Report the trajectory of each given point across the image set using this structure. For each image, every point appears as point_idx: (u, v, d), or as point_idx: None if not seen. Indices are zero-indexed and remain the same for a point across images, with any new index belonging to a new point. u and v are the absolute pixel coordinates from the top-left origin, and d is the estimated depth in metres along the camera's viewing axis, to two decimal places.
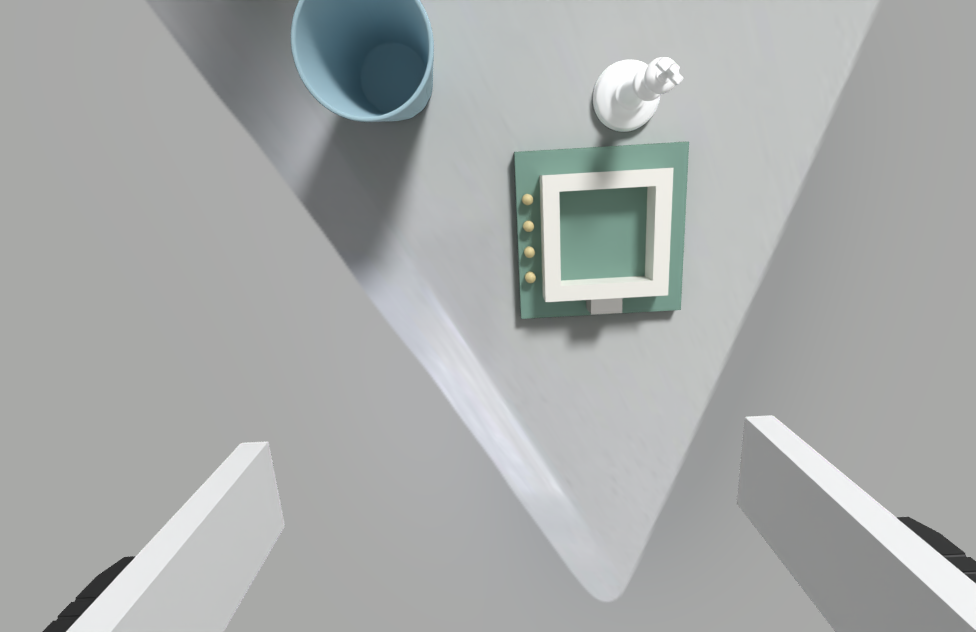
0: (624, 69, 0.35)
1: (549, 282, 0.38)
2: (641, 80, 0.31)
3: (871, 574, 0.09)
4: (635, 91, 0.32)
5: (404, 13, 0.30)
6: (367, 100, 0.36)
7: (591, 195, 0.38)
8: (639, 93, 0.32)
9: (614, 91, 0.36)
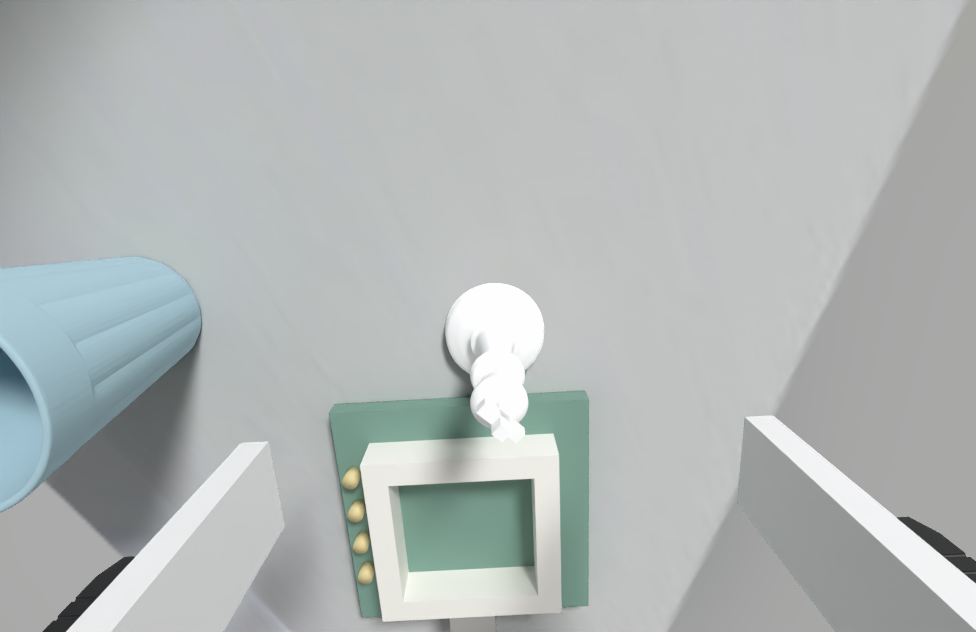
0: (484, 304, 0.23)
1: (385, 598, 0.26)
2: (482, 377, 0.19)
3: (871, 575, 0.09)
4: None
5: None
6: None
7: None
8: None
9: (470, 336, 0.23)
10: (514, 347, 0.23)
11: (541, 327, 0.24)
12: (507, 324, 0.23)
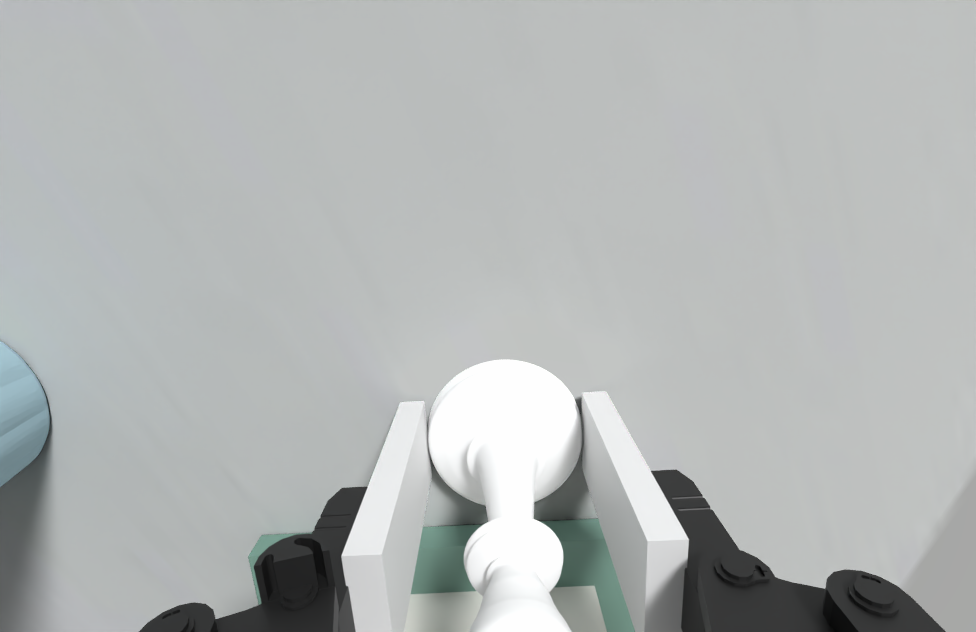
0: (489, 397, 0.14)
1: None
2: (485, 568, 0.10)
3: (620, 512, 0.11)
4: None
5: None
6: None
7: None
8: (483, 594, 0.10)
9: (467, 446, 0.15)
10: (537, 468, 0.14)
11: (579, 430, 0.15)
12: (526, 432, 0.14)
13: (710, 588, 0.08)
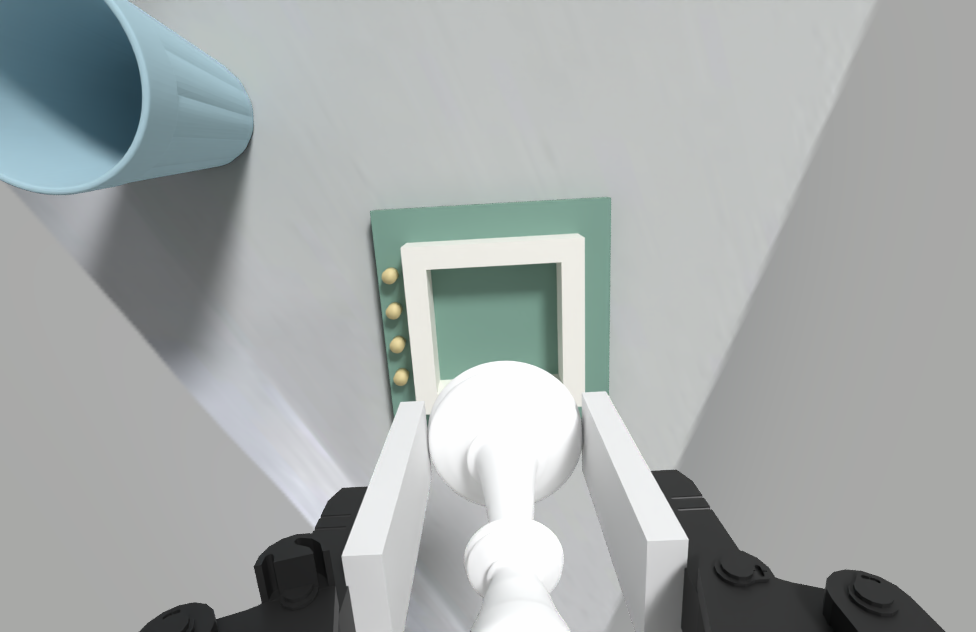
0: (489, 398, 0.14)
1: (420, 389, 0.27)
2: (485, 569, 0.10)
3: (620, 511, 0.11)
4: None
5: None
6: None
7: (479, 269, 0.28)
8: (483, 595, 0.10)
9: (467, 447, 0.15)
10: (537, 469, 0.14)
11: (579, 431, 0.15)
12: (526, 433, 0.14)
13: (710, 588, 0.08)
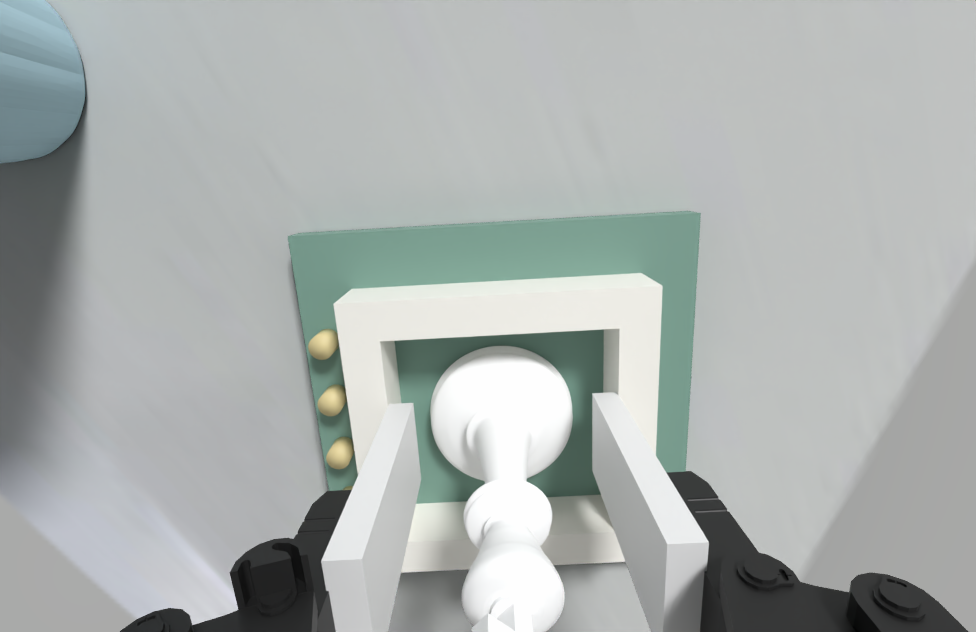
0: (486, 379, 0.16)
1: None
2: (482, 524, 0.12)
3: (636, 514, 0.11)
4: (471, 538, 0.12)
5: None
6: None
7: None
8: None
9: (466, 424, 0.16)
10: (531, 444, 0.16)
11: (569, 410, 0.16)
12: (521, 411, 0.15)
13: (733, 591, 0.08)
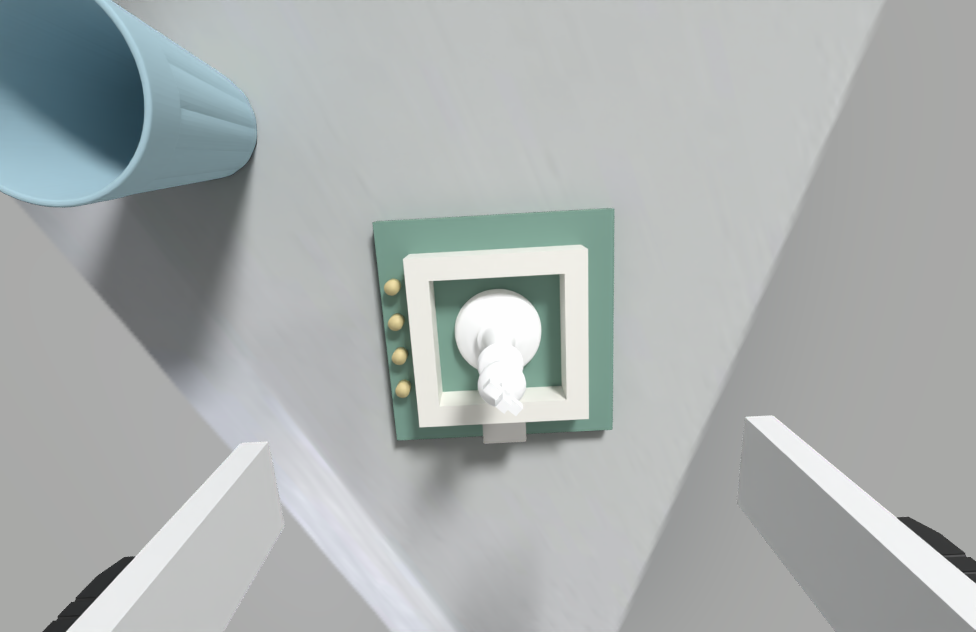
0: (489, 306, 0.27)
1: (423, 401, 0.27)
2: (487, 365, 0.22)
3: (871, 574, 0.09)
4: None
5: None
6: None
7: (482, 280, 0.27)
8: None
9: (477, 334, 0.27)
10: (515, 344, 0.26)
11: (538, 327, 0.27)
12: (509, 324, 0.26)
13: None
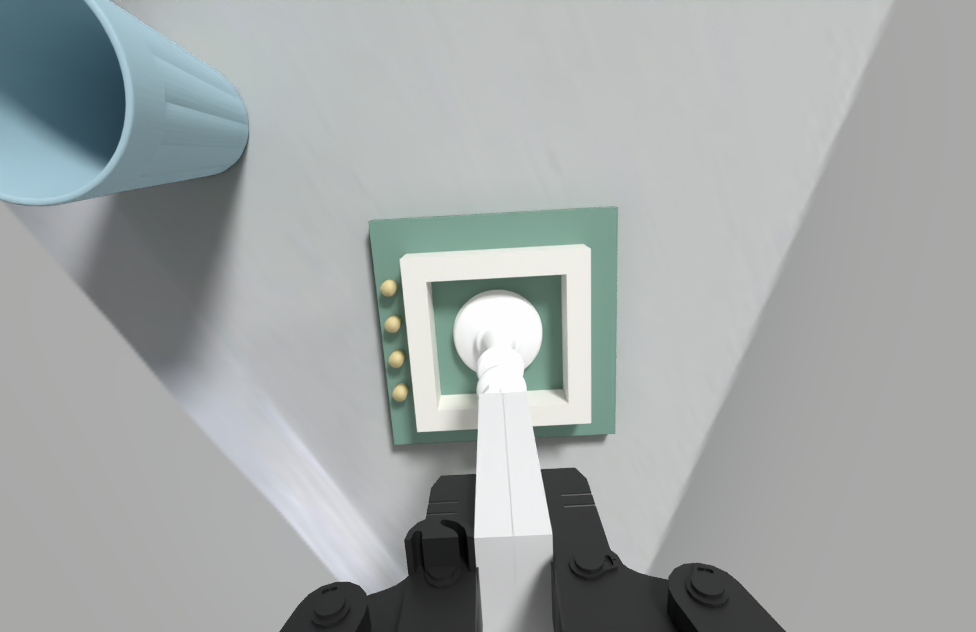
0: (488, 308, 0.26)
1: (420, 405, 0.26)
2: (486, 370, 0.22)
3: None
4: None
5: None
6: None
7: (482, 281, 0.27)
8: None
9: (476, 336, 0.26)
10: (515, 346, 0.26)
11: (539, 329, 0.27)
12: (509, 326, 0.26)
13: (565, 586, 0.08)
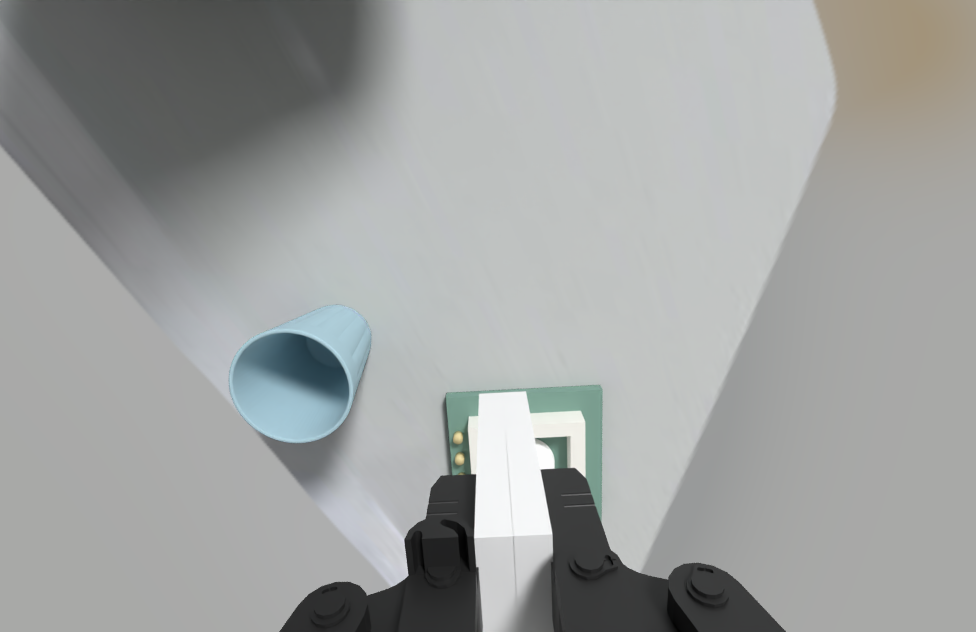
0: None
1: None
2: None
3: None
4: None
5: None
6: (312, 356, 0.40)
7: None
8: None
9: None
10: None
11: (553, 463, 0.42)
12: None
13: (565, 586, 0.08)
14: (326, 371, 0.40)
